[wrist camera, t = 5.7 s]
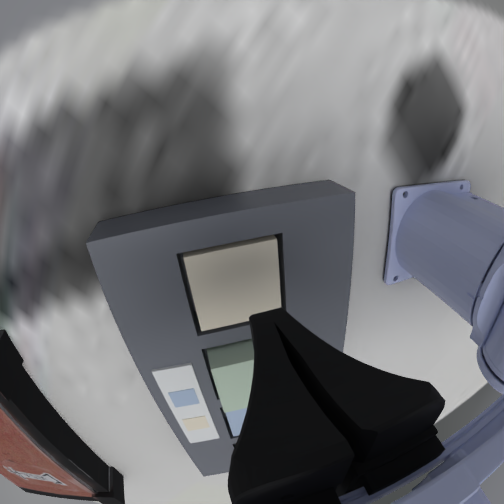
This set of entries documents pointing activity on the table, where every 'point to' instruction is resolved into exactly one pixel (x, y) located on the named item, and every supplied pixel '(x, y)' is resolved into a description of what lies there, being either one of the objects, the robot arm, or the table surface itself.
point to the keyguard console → (182, 304)
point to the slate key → (236, 420)
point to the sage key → (232, 373)
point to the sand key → (234, 281)
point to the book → (46, 442)
